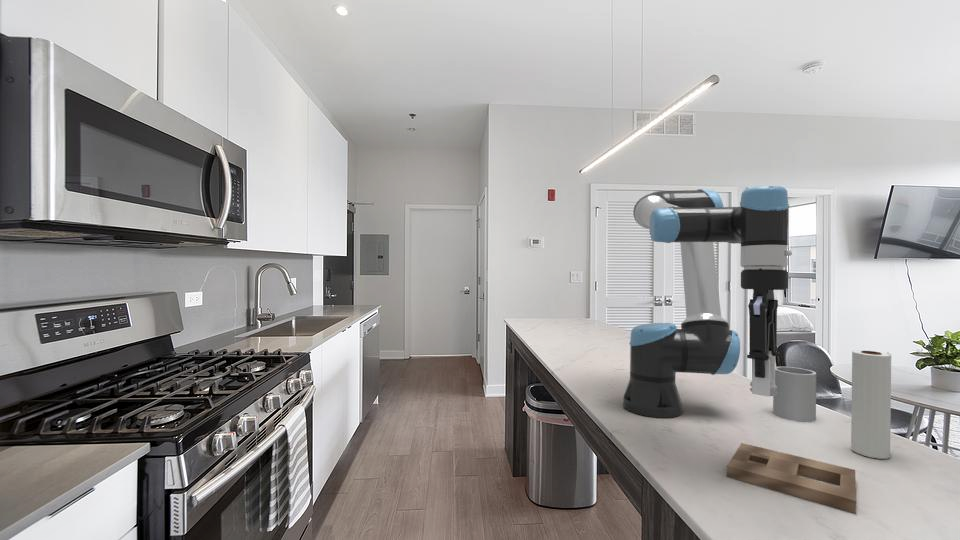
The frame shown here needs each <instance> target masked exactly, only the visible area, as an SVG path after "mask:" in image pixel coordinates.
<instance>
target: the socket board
mask: <svg viewBox="0 0 960 540" xmlns="http://www.w3.org/2000/svg"><path fill="white" fill-rule="evenodd" d="M726 477H728V478H732V479H734V480H738V481H742V482H745V483H749V484H753V485H756V486H759V487H762V488H766V489H769V490H772V491H776V492H779V493H784V494H787V495H790V496H793V497H797V498H801V499H804V500H808V501H811V502H815V503H818V504H822V505H825V506H829V507H833V508H835V509H839V510H842V511H846V512H849V513H853V514H857V494H856V493H857V490H856V489H857V487H856V486H857V484H856V482H857V481H856V480H857V479H856V469H853V468H850V467H844V466H842V465H836V464H832V463H827V462H823V461H820V460H815V459H811V458H806V457H802V456H798V455H794V454H790V453H785V452H782V451H777V450H772V449H769V448H764V447H761V446H755V445H751V444H748V443H743V442H741V443H740V444H739V446H738V448H737V450H736V451H735V452H734V454H733V455H732V457H731V459H730V460H729V462H728V463H727V465H726ZM818 480H819V481H818ZM822 481H823V482H822ZM825 482H826V483H825ZM834 484H835V485H834Z"/></svg>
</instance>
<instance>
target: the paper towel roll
mask: <svg viewBox="0 0 960 540" xmlns="http://www.w3.org/2000/svg"><path fill="white" fill-rule="evenodd" d="M851 352H852V353H851V416H850V417H851V419H850V421H851V424H850V425H851V427H850V429H851V430H850V431H851V432H850V433H851V434H850V448H851V450H852V451H853V452H855V453H856V454H858V455H861V456H865V457H868V458H874V459H879V460H885V459H889V458H890V457H891V421H892V419H891V416H892V413H891V411H892V409H891V407H892V406H891V405H892V403H891V401H892V399H891V398H892V397H891V395H892V354H891V353H889V351H887V352H882V351H881V352H878V351H874V350H873V351H872V350H852V351H851Z"/></svg>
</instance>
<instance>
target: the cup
mask: <svg viewBox="0 0 960 540" xmlns="http://www.w3.org/2000/svg"><path fill="white" fill-rule="evenodd" d="M775 385H776V386H777V389H776V390H775V391H776V392H777V394H776V395H775V396H772V397H773V398H772V414H774V415H775V416H776V417H779V418H781V419H785V420H787V421H789V420H790V421H795V422H801V423H812V422H813V423H814V422H815V421H816V420H817V372H816V371H814V370H811V369H806V368H801V367H792V366H775Z"/></svg>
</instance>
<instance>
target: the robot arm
mask: <svg viewBox="0 0 960 540" xmlns="http://www.w3.org/2000/svg"><path fill="white" fill-rule="evenodd" d="M788 195H789V194H788V190H787V189H786V187H784V186H781V185H780V186H779V185H764V186H763V185H762V186H756V187H755V186H754V187H750V188H747V189H744V190H743V191H742V193H741V197H740V202H739V205H740V206H724V203H723V201H722V197H721V196H720V194H719V193H718V192H717V191H715V190H712V189H703V188H702V189H700V188H699V189H695V190H694V189H693V190H692V189H691V190H689V189H688V190H686V189H685V190H683V189H682V190H659V191H654V192H650V193H648V194H646V195H644V196H642V197H641V198H639V199H638V200H637V202H635V205H634V207H633V218H634V220H635V222H636V224H638V225H639V226H640V227H642V228H645V229H648V230H649V235H650V238H651V240H652V241H653V242H656V243H664V244H672V243H679V244H680V256H681V266H682V268H681V269H682V279H683V292H684V305H685V315H686V316H685V317H686V318H685V319H684V320H683V321H682V322H681V323H680V328H677V325H676V324H675V323H671V322H651V323H645V324H639V325H636V326H634V327H633V328H632V329H631V331H630V340H629V346H630V351H629V353H630V355H629V356H630V357H629V362H630V363H629V381H628V383H627V385H626V389H625V391H624V395H623V397H622V406H623V409H624V408H625V409H626V410H627V411H629V412H631V413H634V414H635V415H636V414H637V415H641V416H645V417H651V418H675V417H676V418H677V417H678V416H679V417H680V416H682V414H683V403H682V400H681V397H680V393H679V390H678V386H677V384H676V373H683V374H684V373H685V374H686V373H687V374H688V373H689V374H690V373H691V374H708V375H712V376H715V375H729V374H732V373H733V371H734V370H735V369H736V368H737V366H738V363H739V361H740V360H739V359H740V355H741V354H740V353H741V340H740V336H739V334H738V332H737V331H735V330H733V329H730V324H729V322H728V321H727V320H726V319H725V318H723V317H722V310H721V302H720V293H719V292H720V291H719V285H718V274H717V264H716V255H715V249H714V248H715V247H714V243H729V244H739V245H740V264H739V265H740V267H741V268H743V270H741V271H740V288H742V290H753V293H752V299H749V302H748V306H747V307H748V316H749V319H748V320H749V352H748V354H746V358H747V359H751V382H752V387H751V388H752V392H751V394H752V395H758V396H762V395H763V396H764V397H771V396H770V360H768V359H769V356H768V355H769V351H771V354H772V356H773V357H774V358H773V359H772V360H771V364H772V366H771V373H772V379H773V381H774V384H775V367H776V357H780V356H781V352H779V351H778V344H777V343H778V338H777V337H778V334H777V333H778V316H777V315H778V307H779V300H778V299H775V292H774V290H775V291H785V290H787V289H789V271H787V269H785V268H786V267H788V266H789V263H788V262H789V260H788V257H790V256H792V255H793V252H792V250H788V249H789V247H788V246H789V208H790V205H789V198H788V197H789V196H788ZM625 409H624V410H625Z"/></svg>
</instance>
